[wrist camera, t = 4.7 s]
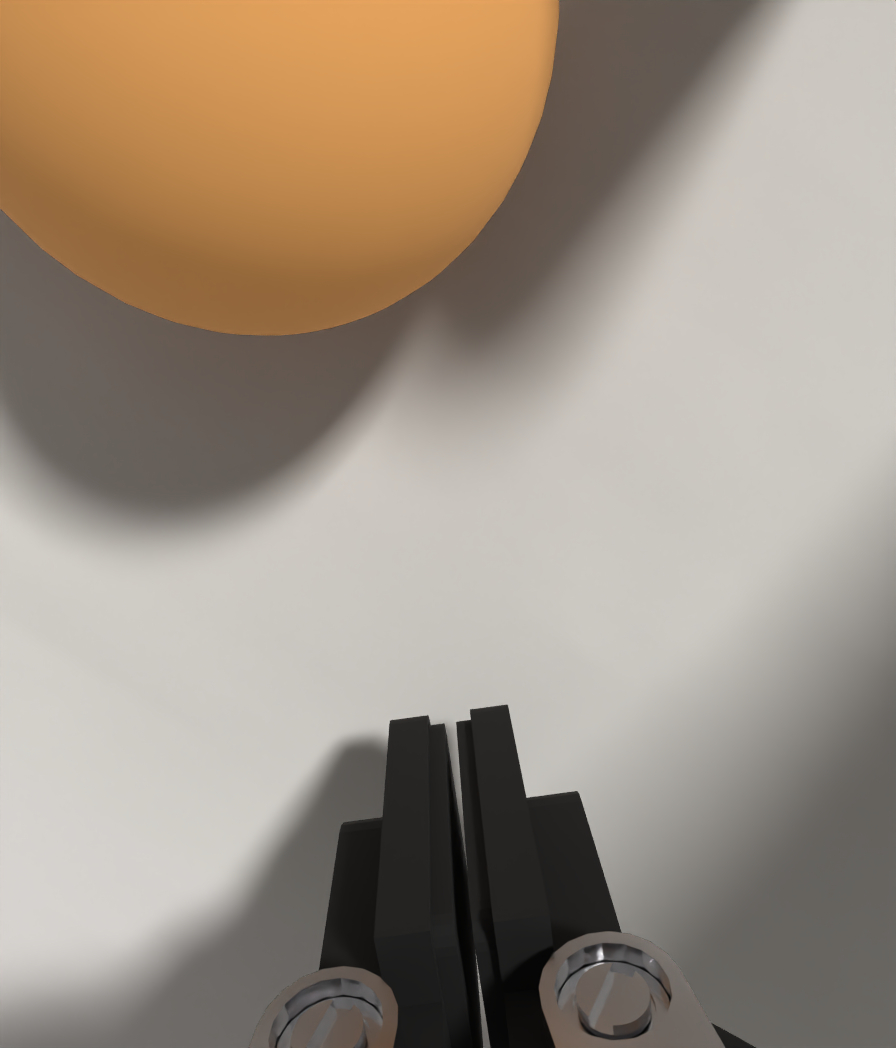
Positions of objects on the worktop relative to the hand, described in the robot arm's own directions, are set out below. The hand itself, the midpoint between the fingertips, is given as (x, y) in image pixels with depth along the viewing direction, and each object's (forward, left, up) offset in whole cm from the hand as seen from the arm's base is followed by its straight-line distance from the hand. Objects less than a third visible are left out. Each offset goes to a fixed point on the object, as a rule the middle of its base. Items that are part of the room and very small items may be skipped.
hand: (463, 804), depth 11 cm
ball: (-9, -1, +1) cm, 10 cm away
